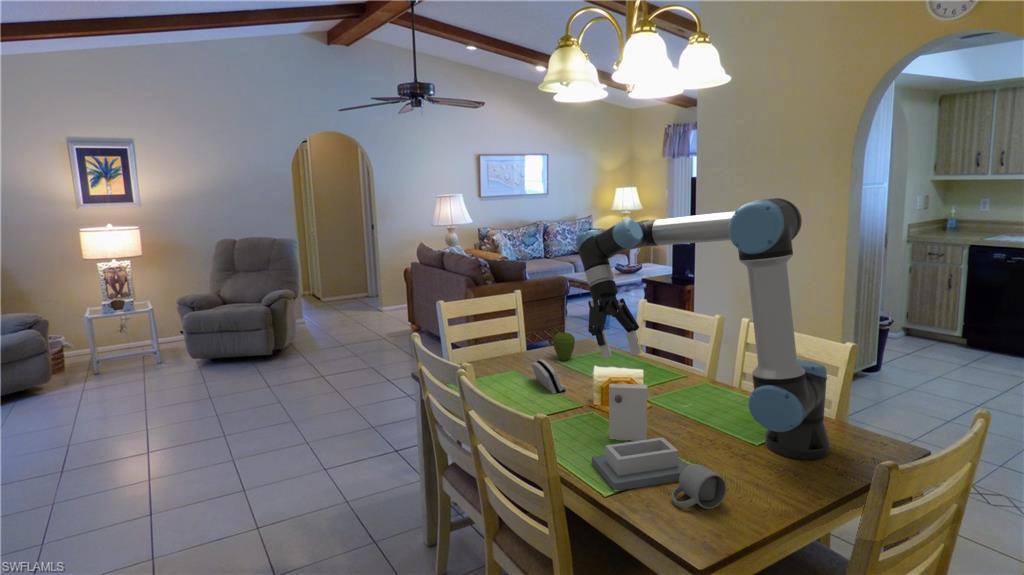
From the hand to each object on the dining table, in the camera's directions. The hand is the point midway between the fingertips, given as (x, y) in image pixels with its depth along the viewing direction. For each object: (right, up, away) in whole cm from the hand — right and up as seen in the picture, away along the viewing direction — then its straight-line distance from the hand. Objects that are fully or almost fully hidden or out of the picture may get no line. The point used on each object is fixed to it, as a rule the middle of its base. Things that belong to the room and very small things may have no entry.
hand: (622, 355), depth 165 cm
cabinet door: (+1, -23, -1) cm, 23 cm away
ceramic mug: (+10, -29, -33) cm, 45 cm away
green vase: (-10, -10, +71) cm, 72 cm away
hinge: (-18, -16, +43) cm, 49 cm away
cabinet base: (+1, -26, -19) cm, 32 cm away
